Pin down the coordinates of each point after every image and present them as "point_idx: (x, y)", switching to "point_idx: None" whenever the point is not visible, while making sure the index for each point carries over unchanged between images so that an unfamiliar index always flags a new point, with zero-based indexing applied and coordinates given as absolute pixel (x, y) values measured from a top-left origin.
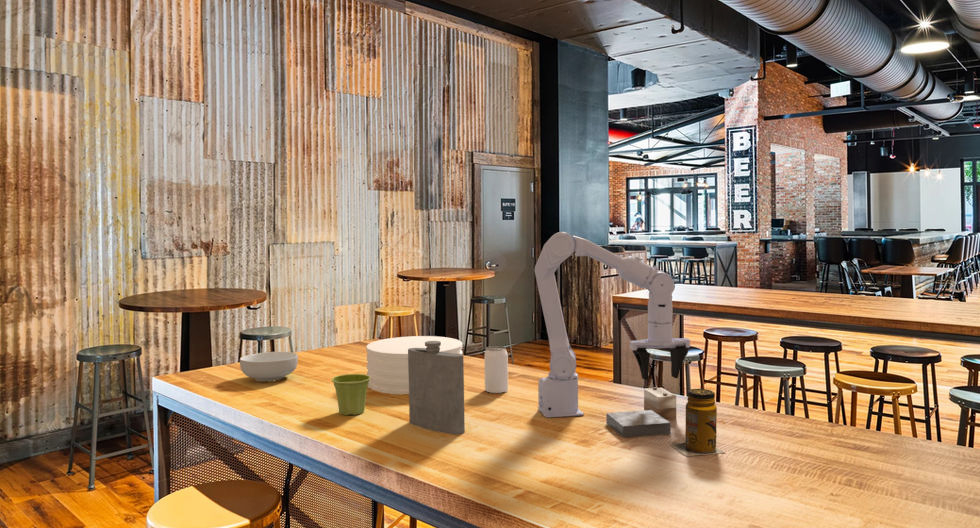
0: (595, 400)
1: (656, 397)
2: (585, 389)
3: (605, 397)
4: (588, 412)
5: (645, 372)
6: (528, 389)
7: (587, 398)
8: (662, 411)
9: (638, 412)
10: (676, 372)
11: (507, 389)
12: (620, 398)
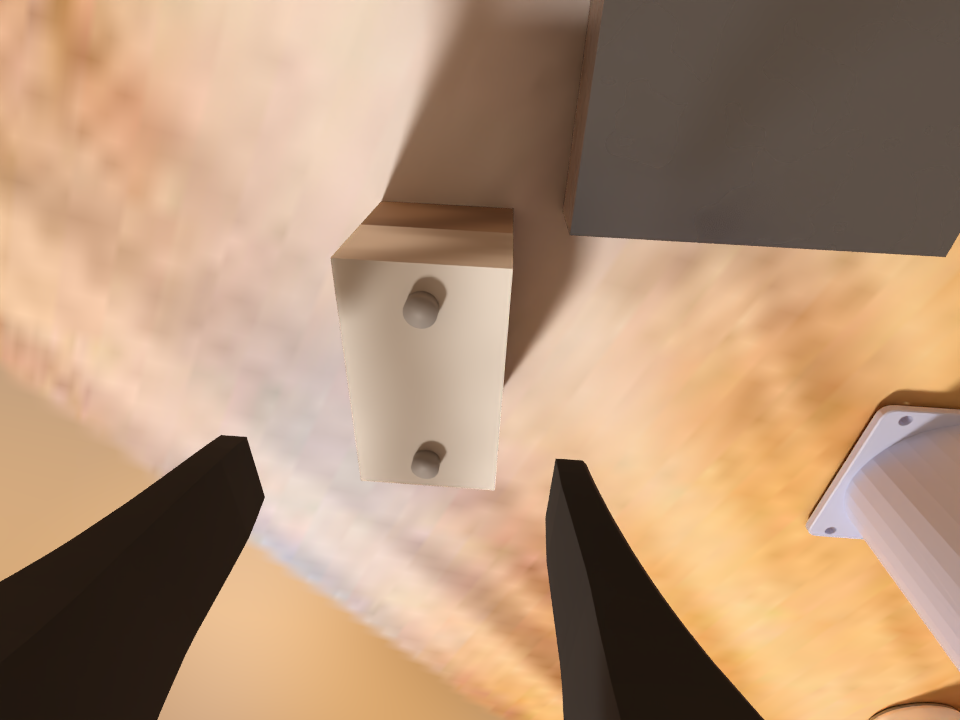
0: None
1: (510, 295)
2: None
3: None
4: (802, 443)
5: (610, 520)
6: (788, 706)
7: None
8: (478, 223)
9: (704, 202)
10: (202, 473)
11: (891, 718)
12: (510, 561)
